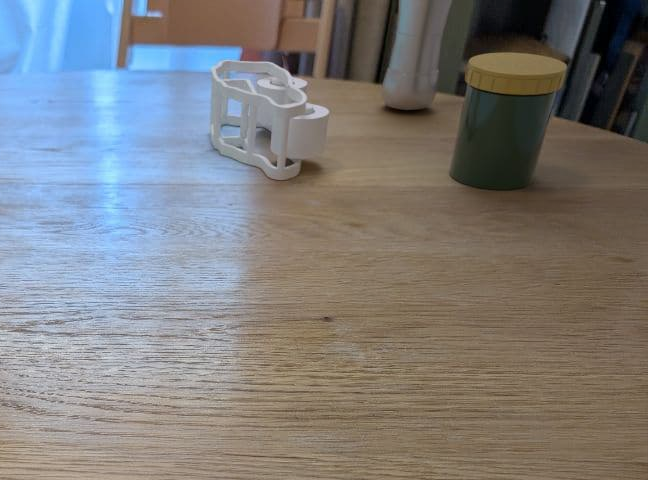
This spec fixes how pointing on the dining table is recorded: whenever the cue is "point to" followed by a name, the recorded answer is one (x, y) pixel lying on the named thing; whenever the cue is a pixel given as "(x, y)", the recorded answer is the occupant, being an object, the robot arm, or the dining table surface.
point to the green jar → (500, 138)
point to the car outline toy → (266, 117)
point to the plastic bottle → (415, 54)
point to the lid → (515, 73)
